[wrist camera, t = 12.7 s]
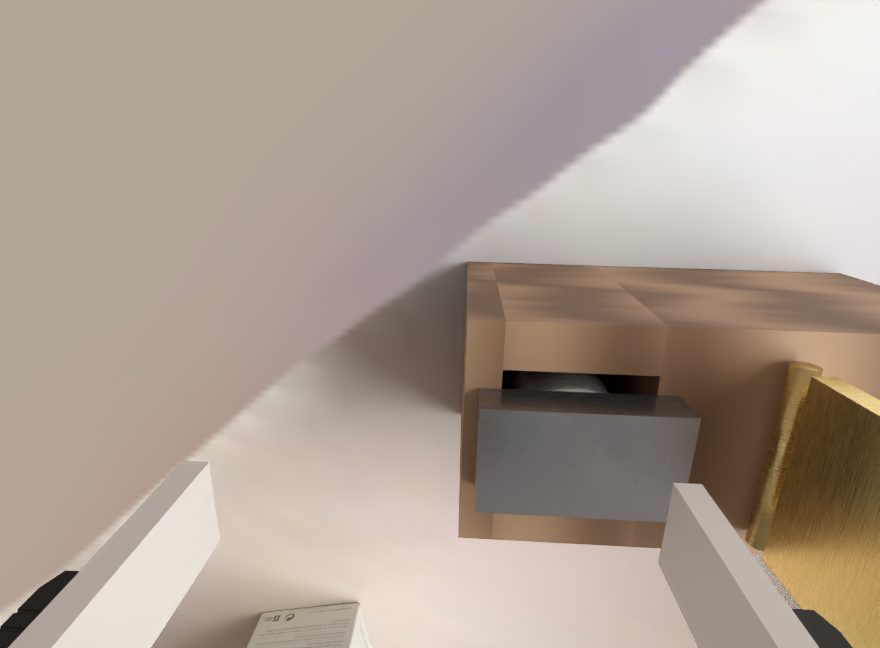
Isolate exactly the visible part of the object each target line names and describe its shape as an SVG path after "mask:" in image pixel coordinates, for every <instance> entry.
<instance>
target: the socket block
mask: <svg viewBox="0 0 880 648" xmlns="http://www.w3.org/2000/svg"><path fill="white" fill-rule="evenodd" d="M793 361H801V362H807V363H811V364H815V365H817V366H819V367H821V368H822V369H823V373H822V376H821V377H838V378H840V379H842V380H844V381H846V382H847V383H849V384H851V385H853V386H855V387H857V388H858V389H860V390H862V391H864V392H866V393H868V394H869V395H871V396H873V397H875V398H877V399H879V400H880V286H879V285H876V284H873V283H869V282H866V281H863V280H860V279H856V278H853V277H850V276H847V275H843V274H840V273H809V272H776V271H744V270H712V269H680V268H648V267H615V266H583V265H551V264H519V263H487V262H467V280H466V306H465V332H464V358H463V384H462V410H461V451H460V497H459V537H460V538H479V539H498V540H516V541H535V542H554V543H572V544H591V545H610V546H628V547H647V548H661V547H662V542H663V536H664V531H665V526H666V522H650V521H630V520H611V519H591V518H572V517H552V516H532V515H513V514H493V513H475V496H474V479H475V459H476V439H477V419H478V399H479V388H492V389H504V388H502V375H503V370H515V371H540V372H565V373H590V374H598V375H599V377H600V378H601V380H602V382H603V383H604V385H605V387H606V388H607V390H608V392H609V393H614V394H638V395H663V396H681V397H682V398H683V399H684V400H685V401H686V402H687V403H688V405H689V406H690V407H691V408H692V409H693V410H694V411H695V412H696V413H697V415H698V416H699V417H700V418H701V422H700V427H699V432H698V437H697V442H696V447H695V452H694V457H693V461H692V466H691V471H690V476H689V481H688V483H689V484H702V485H703V486H704V488H705V489H706V491H707V492H708V493H709V495H710V496H711V497H712V499H713V500H714V502H715V503H716V504H717V506H718V507H719V509H720V510H721V511H722V513H723V514H724V516H725V517H726V518H727V520H728V521H729V523H730V524H731V525H732V527H733V528H734V530H735V531H736V532H737V534H738V535H739V536H740V538H741V539H742V541H743V542H744V543H745V545H746V546H747V548H748V549H749V550H750V552H751V553H759V554H763V551H759V550H757V549H755V548H753V547H751V546H750V545H749V544H748V543H747V542H746V540H745V536H746V532H747V528H748V524H749V520H750V516H751V512H752V508H753V504H754V501H755V497H756V493H757V489H758V485H759V481H760V477H761V473H762V469H763V465H764V462H765V458H766V454H767V450H768V446H769V442H770V438H771V434H772V430H773V426H774V422H775V419H776V415H777V411H778V407H779V403H780V399H781V395H782V391H783V387H784V383H785V379H786V376H787V372H788V368H789V364H790V362H793Z"/></svg>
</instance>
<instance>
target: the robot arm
mask: <svg viewBox="0 0 880 648" xmlns="http://www.w3.org/2000/svg"><path fill="white" fill-rule="evenodd" d="M219 542H220V534H219V527H218V520H217V514H216V507H215V500H214V493H213V486H212V480H211V473H210V466H209V462H193V461H183V462H182V463H181V464H180V465H179V466H178V467H177V468H176V469H175V470H174V471H173V472H172V473H171V474H170V475H169V477H168V478H167V479H166V480H165V481H164V482H163V483H162V484H161V485H160V486H159V487H158V488H157V489H156V490H155V491H154V493H153V494H152V495H151V496H150V497H149V498H148V499H147V500H146V501H145V502H144V503H143V504H142V505H141V506H140V507H139V509H138V510H137V511H136V512H135V513H134V514H133V515H132V516H131V517H130V518H129V519H128V520H127V521H126V522H125V523H124V525H123V526H122V527H121V528H120V529H119V530H118V531H117V532H116V533H115V534H114V535H113V536H112V537H111V538H110V539H109V541H108V542H107V543H106V544H105V545H104V546H103V547H102V548H101V549H100V550H99V551H98V552H97V553H96V554H95V555H94V557H93V558H92V559H91V560H90V561H89V562H88V563H87V564H86V565H85V566H84V567H83V568H82V569H81V570H80V571H64V572H63V573H61V574H60V575H58V576H56V577H55V578H53V579H52V580H50V581H49V582H47V583H46V584H44V585H43V586H41V587H40V588H38V589H37V591H36V592H35V593H34V594H33V595H32V596H31V597H30V598H29V599H28V600H27V601H26V602H25V603H24V604H23V605H22V606H21V607H20V608H19V609H18V612H17V613H14V614H13V615H12V616H11V617H10V618H9V619H8V620H7V621H6V622H5V623H4V624H3V625H2V626H1V628H0V648H151V647H152V646H153V644H154V643H155V641H156V639H157V638H158V636H159V635H160V633H161V632H162V630H163V629H164V627H165V625H166V624H167V622H168V621H169V619H170V618H171V616H172V615H173V613H174V612H175V610H176V608H177V607H178V605H179V604H180V602H181V601H182V599H183V598H184V596H185V594H186V593H187V591H188V590H189V588H190V587H191V585H192V584H193V582H194V581H195V579H196V577H197V576H198V574H199V573H200V571H201V570H202V568H203V567H204V565H205V563H206V562H207V560H208V559H209V557H210V556H211V554H212V553H213V551H214V550H215V548H216V546H217V545H218V543H219ZM659 565H660V567H661V569H662V571H663V573H664V576H665V578H666V580H667V582H668V584H669V586H670V588H671V590H672V592H673V595H674V597H675V599H676V601H677V603H678V605H679V607H680V609H681V612H682V614H683V616H684V618H685V620H686V622H687V624H688V626H689V629H690V631H691V633H692V635H693V637H694V639H695V641H696V643H697V646H698V648H853V647H852V646H851V645H850V644H849V642H848V641H847V640H846V638H845V637H844V636H843V635H842V633H841V632H840V631H839V630H837V629H836V628H835V627H834V626H833V625H831V624H830V623H829V622H828V621H826V620H825V619H824V618H823V617H822V616H820V615H819V614H818V613H817V612H816V611H814V610H804V609H791V608H790V606H789V605H788V603H787V602H786V601H785V599H784V598H783V596H782V595H781V594H780V592H779V591H778V589H777V588H776V587H775V585H774V584H773V582H772V581H771V580H770V578H769V577H768V575H767V574H766V573H765V571H764V570H763V569H762V567H761V566H760V564H759V563H758V562H757V560H756V559H755V557H754V556H753V555H752V553H751V552H750V550H749V549H748V548H747V546H746V545H745V543H744V542H743V541H742V539H741V538H740V536H739V535H738V534H737V532H736V531H735V530H734V528H733V527H732V525H731V524H730V523H729V521H728V520H727V518H726V517H725V516H724V514H723V513H722V511H721V510H720V509H719V507H718V506H717V504H716V503H715V502H714V500H713V499H712V497H711V496H710V495H709V493H708V492H707V491H706V489H705V488H704V486H703V485H702V484H689V483H673V489H672V494H671V499H670V505H669V510H668V515H667V520H666V526H665V531H664V536H663V542H662V547H661V552H660V558H659Z"/></svg>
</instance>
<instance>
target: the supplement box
mask: <svg viewBox="0 0 880 648" xmlns="http://www.w3.org/2000/svg"><path fill="white" fill-rule="evenodd" d="M246 648H372V646H371V642H370V639H369V635H368V631H367V628H366V624H365V621H364V617H363V613H362V609H361V605H360V604H359V603H351V604H339V605H328V606H319V607H309V608H300V609H290V610H281V611H273V612H266V613H263V614H262V615H261V617H260V619H259V621H258V623H257V626H256V628H255V630H254V632H253V634H252V636H251V639H250V641H249V643H248V645H247V647H246Z"/></svg>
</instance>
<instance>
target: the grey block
mask: <svg viewBox="0 0 880 648" xmlns="http://www.w3.org/2000/svg"><path fill="white" fill-rule="evenodd" d="M504 372H505V377H506V383H507V389H492V388H479V399H478V419H477V439H476V459H475V479H474V496H475V513H493V514H513V515H532V516H552V517H572V518H591V519H611V520H630V521H650V522H666V520H667V515H668V510H669V505H670V499H671V494H672V489H673V483H688V481H689V476H690V471H691V466H692V461H693V457H694V452H695V447H696V442H697V437H698V432H699V427H700V422H701V418H700V417H699V416H698V415H697V413H696V412H695V411H694V410H693V409H692V408H691V407H690V406H689V405H688V403H687V402H686V401H685V400H684V399H683V398H682V397H681V396H663V395H638V394H614V393H609V392H608V390H607V388H606V387H605V385H604V383H603V382H602V380H601V378H600V377H599V375H598V374H590V373H565V372H540V371H515V370H504Z"/></svg>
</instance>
